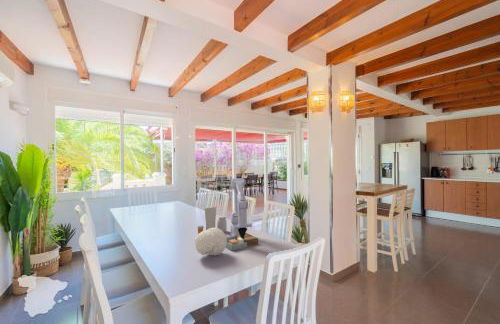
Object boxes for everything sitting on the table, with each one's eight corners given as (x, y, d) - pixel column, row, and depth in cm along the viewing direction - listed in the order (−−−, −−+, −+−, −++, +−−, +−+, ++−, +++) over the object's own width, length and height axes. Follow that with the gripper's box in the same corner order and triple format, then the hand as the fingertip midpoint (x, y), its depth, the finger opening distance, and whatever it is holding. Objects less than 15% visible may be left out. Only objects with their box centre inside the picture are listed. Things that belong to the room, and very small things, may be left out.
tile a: (234, 239, 166) (234, 241, 166) (228, 240, 164) (228, 243, 164) (237, 240, 163) (237, 243, 163) (232, 242, 160) (232, 245, 160)
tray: (220, 244, 163) (220, 238, 163) (234, 240, 170) (234, 235, 170) (232, 251, 150) (232, 245, 150) (247, 247, 157) (247, 242, 157)
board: (234, 240, 170) (234, 235, 170) (246, 238, 176) (246, 233, 176) (246, 246, 158) (246, 240, 158) (257, 243, 164) (257, 238, 164)
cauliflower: (214, 248, 156) (214, 223, 156) (233, 255, 145) (233, 228, 145) (188, 257, 140) (189, 229, 140) (208, 266, 129) (208, 236, 129)
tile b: (241, 242, 163) (238, 244, 162) (239, 236, 162) (237, 238, 161) (244, 244, 159) (242, 246, 158) (243, 238, 158) (240, 240, 157)
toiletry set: (223, 229, 197) (223, 205, 197) (228, 231, 191) (228, 206, 191) (195, 235, 182) (195, 208, 182) (199, 237, 176) (200, 210, 176)
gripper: (236, 221, 153) (236, 242, 153) (254, 218, 162) (254, 238, 162) (230, 219, 159) (230, 239, 159) (248, 216, 167) (248, 235, 168)
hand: (242, 238), depth 161 cm, fingers closed
